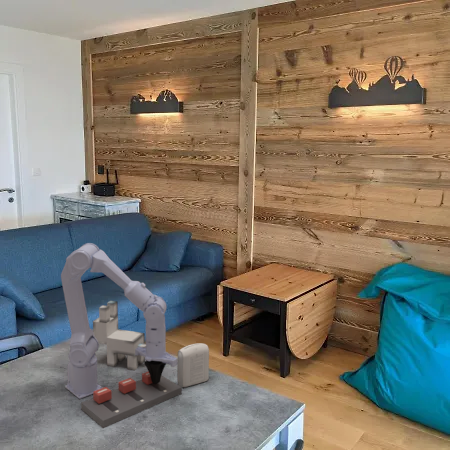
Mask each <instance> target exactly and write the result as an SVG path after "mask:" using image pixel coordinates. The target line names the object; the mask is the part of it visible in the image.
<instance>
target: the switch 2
mask: <svg viewBox="0 0 450 450" xmlns="http://www.w3.org/2000/svg"><path fill="white" fill-rule="evenodd" d="M117 387H118V388H119V391H121V392H122V393H124V394H125V393H127V392H130V391H132V390H135V389H136V380H134V379H133V378H132V377H129V378H126V379H123V380H121V381H118V386H117ZM118 388H117V389H118Z"/></svg>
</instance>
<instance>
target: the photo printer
mask: <svg viewBox="0 0 450 450" xmlns="http://www.w3.org/2000/svg"><path fill="white" fill-rule="evenodd" d="M177 351H178V352H177V365H176V367H177V368H176V369H177V370H176V372H177V375H176V376H177V379H176V380H177V385H179V386H180V387H182V388H188V387H189V386H193V385H197V384H200V383H205V382H207V381H209V376H210V375H209V371H210V370H209V369H210V368H209V367H210V365H209V364H210V349H209V346H208V345H207V344H206V343H202V342H201V343H200V342H199V343H192V344H189V345H186V346H183V347H182V348H180V349H178V350H177Z"/></svg>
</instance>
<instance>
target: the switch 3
mask: <svg viewBox="0 0 450 450" xmlns="http://www.w3.org/2000/svg"><path fill="white" fill-rule="evenodd" d="M141 379H142V381H143V382H144V383H146V384H147V385H149V384H151V383H152V380H151V377H150V374H149V371H148V370H147V371H146V372H142V374H141Z"/></svg>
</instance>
